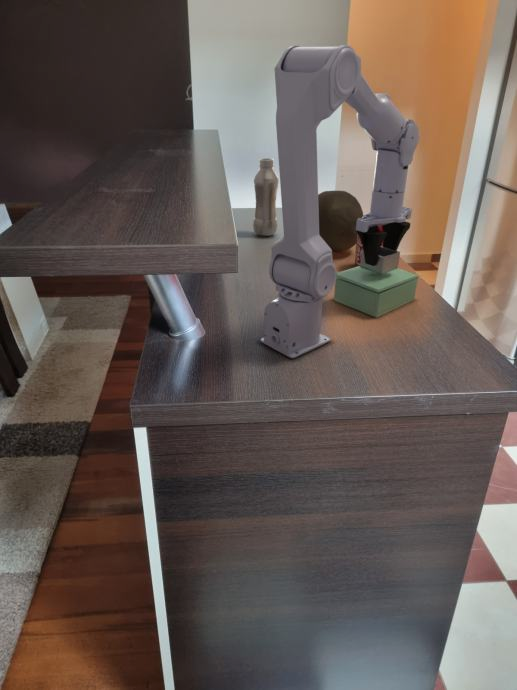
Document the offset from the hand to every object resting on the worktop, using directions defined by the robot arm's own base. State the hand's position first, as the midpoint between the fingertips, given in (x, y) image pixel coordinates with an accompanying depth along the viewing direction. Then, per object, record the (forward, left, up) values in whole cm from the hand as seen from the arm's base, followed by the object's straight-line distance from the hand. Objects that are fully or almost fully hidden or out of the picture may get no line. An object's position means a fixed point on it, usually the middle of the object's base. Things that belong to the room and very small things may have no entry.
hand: (379, 261), depth 100 cm
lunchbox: (0, 0, -8) cm, 8 cm away
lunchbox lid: (0, 0, -3) cm, 3 cm away
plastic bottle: (+13, +47, -8) cm, 50 cm away
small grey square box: (0, 0, -1) cm, 1 cm away
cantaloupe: (+17, +26, -8) cm, 32 cm away
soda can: (+14, +12, -8) cm, 20 cm away
